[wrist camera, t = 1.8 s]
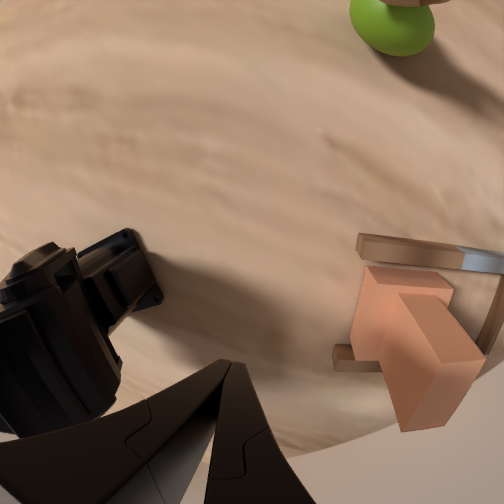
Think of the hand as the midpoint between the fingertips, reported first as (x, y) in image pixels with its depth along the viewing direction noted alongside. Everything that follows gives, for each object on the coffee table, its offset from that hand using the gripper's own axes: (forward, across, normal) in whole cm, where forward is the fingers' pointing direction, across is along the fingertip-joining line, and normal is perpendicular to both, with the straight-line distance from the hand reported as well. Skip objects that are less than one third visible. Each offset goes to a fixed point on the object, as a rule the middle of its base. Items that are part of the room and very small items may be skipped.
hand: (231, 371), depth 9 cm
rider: (+12, +10, -3) cm, 16 cm away
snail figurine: (+12, +6, +17) cm, 22 cm away
